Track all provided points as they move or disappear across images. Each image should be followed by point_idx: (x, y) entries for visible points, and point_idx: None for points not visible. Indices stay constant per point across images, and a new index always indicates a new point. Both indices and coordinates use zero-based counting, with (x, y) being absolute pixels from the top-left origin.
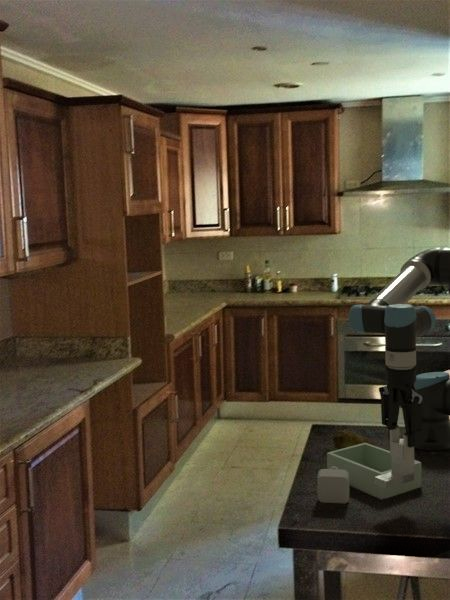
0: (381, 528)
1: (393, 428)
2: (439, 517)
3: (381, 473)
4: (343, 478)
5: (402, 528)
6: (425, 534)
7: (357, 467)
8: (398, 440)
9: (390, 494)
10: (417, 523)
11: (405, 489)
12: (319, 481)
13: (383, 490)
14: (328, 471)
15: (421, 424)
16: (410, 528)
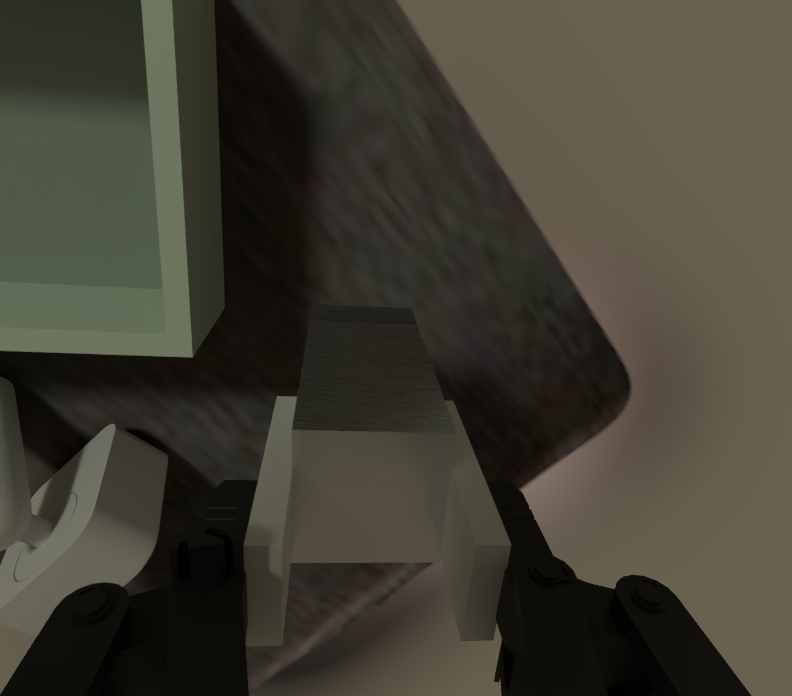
0: None
1: (245, 606)
2: (534, 262)
3: (181, 348)
4: (139, 568)
5: (488, 451)
6: (579, 426)
7: None
8: (318, 502)
9: (219, 250)
10: (502, 378)
11: (215, 129)
12: None
13: (215, 309)
14: (36, 607)
15: (735, 685)
16: (509, 430)
